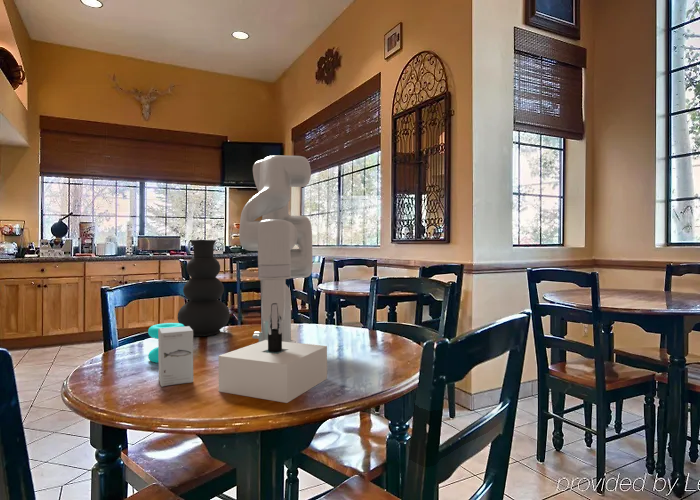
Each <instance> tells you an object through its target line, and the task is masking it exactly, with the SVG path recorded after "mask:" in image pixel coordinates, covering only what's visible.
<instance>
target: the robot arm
mask: <svg viewBox="0 0 700 500" xmlns="http://www.w3.org/2000/svg"><path fill="white" fill-rule="evenodd" d="M310 164H311V163H310V162H309V160H308V158H306V157H305V156H301V155H280V154H278V155H275V154H274V155H269V156H266V157H264V158H263V159H259V160H257V161H255V162H254V164H253V165H252V175H253V180H254V184H255V187H256V189H257V191H258V193H256V194H255V195H253V196H252V197H251V198H250V199H249V200H248V201H247V202H246V204H245V205H244V206H243V208H242V210H241V214H240V219H239V231H238V233H239V235H238V237H239V243H240V246H241V247H242V248H243V249H244V250H246V251H250V252H252V251H253V252H255V251H256V252H257V279H258V280H260V296H261V297H260V300H261V301H260V304H261V305H260V307H261V309H260V313H261V314H260V315H261V318H260V320H261V325H260V326H261V327H260V328H261V330H260V331H254V332H253V334H252V339H255V340H256V339H258V342H261V341H264V340H268V351H269V352H278V351H282V342H292V343H297V342H296V340H294V339H292V295H291V294H292V293H291V290H290V287H288V285H287V284H286V283H287V282H286V281H287V280H290V279H302V278H308V277H310V276H311V274H312V272H313V265H314V264H313V262H314V259H313V231H312V230H313V229H312V228H313V227H312V223H311V221H310V219H309V218H308V217H307V216H306V215H305V216H304V215H290V213H289V209H290V208H289V202H290V200H291V188H293V187H294V188H304V187H305V188H306V187H307V186H308V184H310V181H311V176H312V170H311V166H310ZM260 217H262V219H261V220H257V219H259V218H260ZM295 246H297V248H295Z"/></svg>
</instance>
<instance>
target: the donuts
mask: <svg viewBox="0 0 700 500" xmlns="http://www.w3.org/2000/svg"><path fill="white" fill-rule="evenodd" d="M172 327H185V326H184V325H183V324H181V323H179V322H162V323H156V324H154V325H151V326H150V327H149V328H148V331H147V334H148V336H149V337H151V338H153V339H156V340H158V329H159V328H172ZM148 359H149V361H150V362H152V363H156V364H159V350H158V346H157V347H154V348H153V349H152V350H150V351H149V353H148Z"/></svg>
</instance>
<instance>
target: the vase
mask: <svg viewBox="0 0 700 500" xmlns="http://www.w3.org/2000/svg"><path fill="white" fill-rule="evenodd" d="M189 241H190V243H191V244H192V249H193V257H191V259H190V260H189V261H188V263H186V264H187V265H186V272H187V274H188V275H189V277H190V279H189V280H187V281H186V283H185V284H184V286H183V291H182V292H183V295H184V296H185V298H186V299H187V300H189V301H187V302H186V303H185V304H183V305H182V306H181V307H180V309H179V310H178V313H177V323H181V324H183V325H184V326H190V328H191V329H192V330H193V337H209V336H215V335H217V334H219V333H220V332H221V329H223V328H224V327H226V325H228V322H229V320H230V317H231V312H230V309H229V307H228V306H227V305H226V304H225V303H224V302H222V301H220V300H219V299H220V298H221V297H222V296H223V294H224V292H225V287H224V284H223V282H222V281H221V280H220V279H219V278H217V276H218V275H219V273H220V271H221V264H220V262H219V261H218V259H217V258H216V257H214V250H215V248H214V247H215V244H216V242H217V240H216V239H190V240H189Z"/></svg>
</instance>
